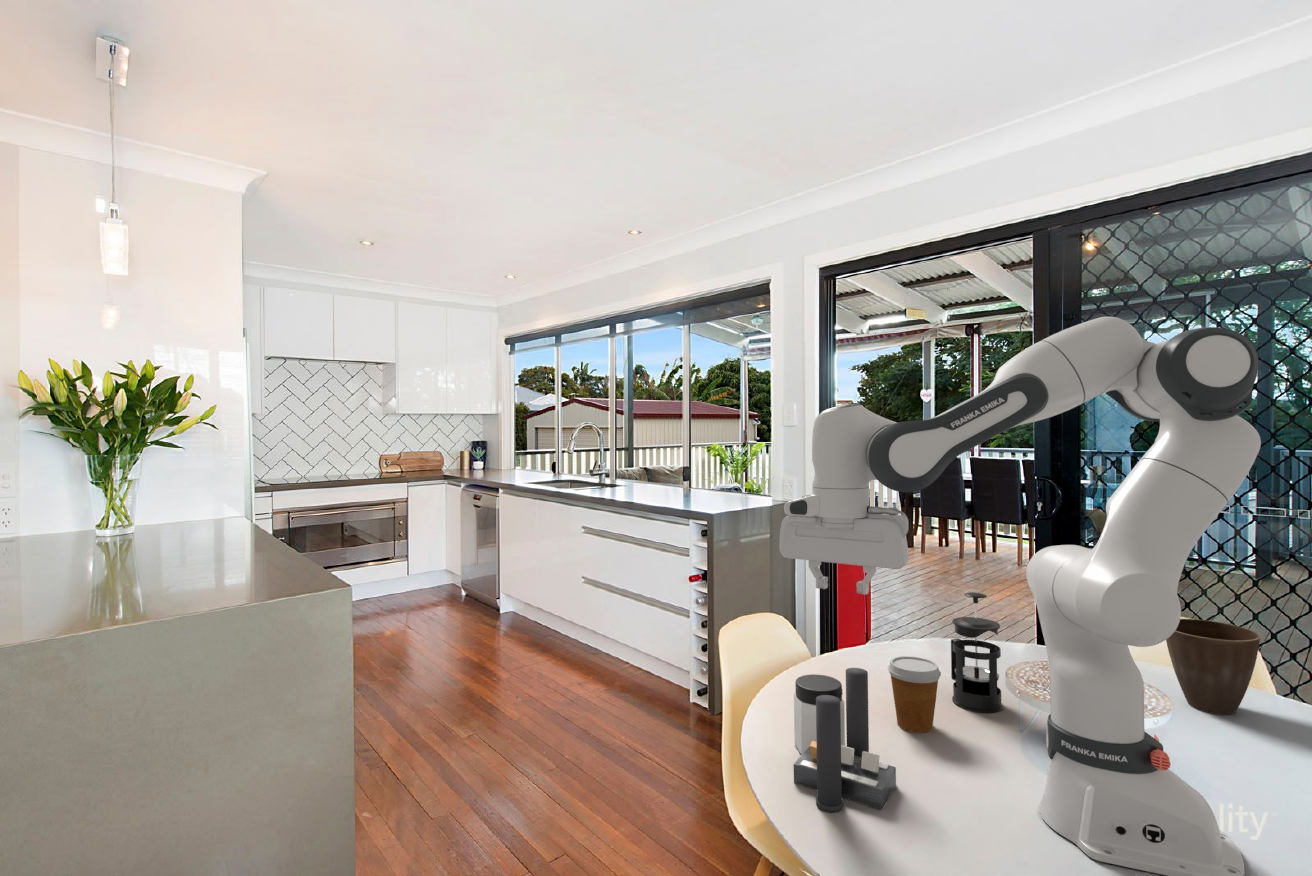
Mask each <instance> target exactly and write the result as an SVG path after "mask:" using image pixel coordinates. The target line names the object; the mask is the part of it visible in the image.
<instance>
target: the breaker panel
mask: <svg viewBox="0 0 1312 876" xmlns="http://www.w3.org/2000/svg"><path fill="white" fill-rule="evenodd" d="M861 761H862V757H859V756H855V755H854V760H853V765H848V764H845V763H841V780H842V799H846V800H848V801H851V802H855V803H858V804H861V805H865V806H866V807H867V806H868V807H871V808H874V809H877V810H880V811H883V809H884V808H885V806H886V804H887V802H888V801H889V799H890V797H891V796H892V793H893V792H894V790H895V789H896V787H897V770H896V769H897V767H895V766H893V765H890V764H888V763H884V762H880V761H879V771H878V772H873V771H870V770H866V769H863V768H861ZM793 783H794V784H797V785H800V786H804V787H807V788H810V789H813V790H817V759H815V758H812V756H811V751H810V747H809V748H808V749H807V750H806V751H805V752H804V753H803V754H802V755H801V754H800V756H799V757H798V759H797V760H796V761H795V762H794V763H793Z"/></svg>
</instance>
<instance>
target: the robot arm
mask: <svg viewBox="0 0 1312 876" xmlns="http://www.w3.org/2000/svg"><path fill="white" fill-rule="evenodd" d="M1258 371H1259V356H1258V353H1257V350H1256V347H1255V346H1254V345H1253V343H1252V342H1251V341H1250V340H1249V339H1248V338H1247V337H1246V336H1244V335H1243V334H1242V333H1240V332H1237V331H1235V330H1234V329H1233V330H1232V329H1230V328H1229V329H1228V328H1225V327H1218V326H1217V327H1216V326H1212V327H1211V326H1210V327H1209V326H1208V327H1207V326H1206V327H1198V328H1192V329H1188V330H1185V331H1182V332H1180V333H1177V334H1176V335H1174V336H1173V337H1171V338H1169V339H1168V338H1167V339H1165V340H1164V341H1161V342H1159V343H1155V342H1151V341H1148V340H1146V339H1144V338H1143V337H1141V335H1140V333H1139V332H1138V330H1137V329H1136V328H1135V327H1134V326H1133V325H1132V324H1131V323H1129V322H1128V321H1126V320H1124V319H1122V318H1120V317H1116V316H1100V317H1097V318H1094V319H1090V320H1087V321H1084V322H1081V323H1078V324H1076V325H1073V326H1071V327H1068V328H1065V329H1062V330H1060V331H1058V332H1056V333H1053V334H1051V335H1048V337H1046V338H1043V339H1041V340H1040V341H1038V342H1036V343H1034V344H1032V345H1030V346H1028V347H1026V348H1025V349H1024V350H1021V351H1020V352H1019V353H1017V354H1016V355H1014V356H1012V357H1011V358H1009V360H1007V361H1006V362H1004V364H1003V365H1001V366H1000V367H998V369H997V372H996V373H995V375H994V376H995V377H994V379H993V380H992V382H990V384H989V385H988V386H987V387H986V388H985V389H983V390H982V391H981V392H979V393H977V394H976V395H973V396H972V397H970V398H968V399H967V400H964V401H963V402H960V403H958V404H957V405H955V406H953V407H951V408H949V409H948V410H945V411H943V412H941V413H940V414H938V415H936V416H932V417H930V418H927V419H923V420H906V421H900V422H896V421H893V420H891V419H888V418H886V417H883V416H881V415H879V414H876V413H875V412H873V411H870V410H869V409H867V408H866V407H865V406H863V404H859V403H850V404H847V403H846V404H841V405H837V406H833V407H831V408H825V409H824V410H822V411H821V412H819V414H818V415H816V417H815V419H814V423H813V427H812V439H811V440H812V441H811V460H812V461H811V462H812V465H813V470H814V477H813V479H812V480H813V481H812V489H811V490H812V493H811V494H807V495H803V496H801V497H800V498H797V499H792V500H789V501H786V502H785V503H784V504H783V511H784V514H785V515H786V516H785V517H783V519H782V521H781V524H780V528H779V529H780V530H779V546H778V547H779V552H780V554H781V555H782V556H783V558H785V559H791V560H792V559H793V560H802V561H808V568H809V570H810V572H811V574H812V575H813V577H814V578H815V589H817V590H818V589H819V590H826V589H828V587H829V583H828V582H829V576H824V575H823V573H822V570H821V569H820V566H821V565H822V562H823V563H830V564H831V563H833V564H842V565H850V566H851V565H852V566H862V569H863V571H862V572H863V573H865V574H866V575H865V576H864V577H863V580H859V581H857V582H856V586H855V587H856V594H859V595H860V594H861V595H868V594H869V593H870V582H871V580H872V579H873V578H874V576H875V573H876V572H877V568H880V569H881V568H882V569H892V570H900V569H903V567H905V566H906V565H907V564H908V563H909V559H910V558H909V546H908V540H907V536H908V535H907V534H908V532H909V518H908V515H907V514H906V513H904V512H903V511H902V510H899V508H897V507H882V506H873V505H872V506H871V505H870V482H872V481H878V482H879V483H880V484H881V485H883V486H884V487H886V488H887V489H890V490H891V491H894V492H899V493H914V492H919V491H921V490H923V489H926V488H927V487H929V486H931V484H933V483H934V482H936V480H937V479H938V478H939V477H940V476H941V475H942V474H943V472H944V471H945V469H947V467H948V466H949V465H950V464H951V463H952V462H953V461H954V460H955V459H956V458H957V457H959V456H960V455H962V454H964V453H966V452H967V451H969V450H972V449H974V448H975V447H977V446H979V445H981V444H983V443H985V442H987V441H989V440H990V439H992V438H994V437H996V436H998V435H999V434H1002V433H1004V432H1006V431H1008V430H1010V429H1012V428H1015V427H1018V426H1022V425H1026V424H1031V423H1035V422H1038V421H1042V420H1045V419H1049V418H1052V417H1054V416H1057V415H1060V414H1062V413H1063V414H1064V413H1065V412H1068V411H1070V410H1072V409H1075V408H1076V407H1078V406H1080V405H1082V404H1084V403H1086V402H1088V401H1090V400H1092V399H1095V398H1096V397H1098V396H1100V395H1103V394H1106V395H1107V396H1108V397H1110V398H1111V399H1112V400H1113V401H1115V402H1116V403H1117V404H1118V405H1119V407H1121V409H1122V410H1124V411H1125V412H1126V413H1127V414H1129V415H1130V416H1132V417H1135V418H1136V419H1139V420H1142V421H1146V422H1148V421H1149V422H1159V430H1158V432H1157V433H1158V434H1157V436H1156V437H1155V440H1154V443H1153V444H1151V446H1150V447H1149V449H1148V450H1146V451H1145V453H1144V454H1143V455H1142V457H1141V458H1140V459H1139V461H1138V462H1137V463H1136V464H1135V465H1134V467H1132V469H1131V470H1130V471H1129V473H1128V474H1127V475H1126V477H1125V478H1124V480H1123V481H1121V483H1120V484H1119V485H1118V487H1117V488H1116V490H1115V491H1113V493H1112V494H1111V496H1110V497H1109V498H1108V500H1107V502H1106V503H1105V512H1106V520H1105V524H1104V526H1103V529H1102V531H1101V533H1100V537H1099V539H1098V540H1097V543H1096V544H1095V546H1094V547H1093V548H1088V547H1085V546H1082V545H1077V544H1060V545H1058V544H1057V545H1050V546H1046V547H1043V548H1042V549H1039V550H1038V551H1037V552H1036V553H1034V554H1033V556H1031V558H1030V559H1029V562H1028V564H1027V565H1026V570H1025V572H1026V573H1025V575H1026V582H1027V585H1028V587H1029V589H1030V591H1031V593H1032V595H1033V597H1034V601H1035V603H1036V608H1037V613H1038V618H1039V623H1040V628H1041V632H1042V635H1043V640H1044V645H1045V650H1046V654H1047V659H1048V669H1049V694H1050V695H1049V697H1050V698H1049V700H1050V713H1049V714H1048V716H1047V723H1046V727H1045V728H1046V729H1045V730H1046V751H1047V755H1048V757H1049V760H1048V761H1049V763H1048V769H1047V778H1046V783H1045V788H1044V792H1043V795H1042V798H1041V802H1040V804H1039V807H1038V811H1039V815H1040V817H1041V818H1042V820H1043V821H1044V822H1045V823H1046V824H1047V825H1048V826H1049V827H1050V828H1051V829H1052V830H1053V831H1055V832H1056V833H1058V834H1059V835H1061V836H1062V837H1064V838H1066V839H1067V840H1069V841H1071V842H1072V843H1074V844H1075V845H1076V846H1077V847H1078V848H1079V849H1080V850H1081V851H1082V852H1083V853H1084V854H1086V856H1088V857H1089V858H1091V859H1092V860H1095V861H1097V862H1102V863H1107V864H1112V865H1116V866H1120V867H1124V868H1125V867H1126V868H1130V869H1135V870H1139V871H1144V872H1149V873H1155V874H1159V875H1164V876H1246V869H1245V863H1244V859H1243V856H1242V854H1241V851H1240V850H1239V848H1238V846H1237V844H1236V843H1235V842H1234V840H1233V839H1231V837H1230V836H1228V835H1227V834H1226V833H1225V832H1224V831H1222V830H1221V829H1219V828H1220V827H1219V824H1218V821H1217V818H1216V816H1215V813H1214V812H1213V810H1212V808H1211V806H1210V804H1209V803H1208V801H1207V800H1206V798H1205V797H1204V795H1202V794H1201V793H1200V792H1199V791H1198V790H1197V789H1195V788H1194V787H1193V786H1191V785H1190V784H1188V782H1187V781H1184V779H1182V778H1181V777H1180V776H1178V775H1177V774H1176V773H1175V772H1173V771H1172V770H1171V769H1170V768H1171V761H1170V757H1169V754H1167V752H1165V750H1164V746H1163V744H1162V743H1161V742H1160V740H1159V737H1157V735H1156V734H1153V736H1152V735H1150V734H1149V733H1148V732H1146V731H1145V695H1144V694H1145V693H1144V692H1145V687H1144V686H1145V685H1144V679H1143V676H1142V673H1141V671H1140V669H1139V668H1138V666H1137V664H1136V662H1135V660H1134V658H1133V656H1132V654H1131V651H1130V649H1129V646H1132V647H1138V648H1146V647H1153V646H1156V645H1159V644H1161V643H1163V642H1165V641H1166V639H1168V638H1169V637H1170V636H1171V635H1172V634H1173V633H1174V631H1175V630H1176V628H1177V627H1178V624H1179V622H1180V619H1182V618H1181V617H1182V606H1181V602H1180V599H1179V596H1178V588H1179V583H1180V580H1181V575H1182V572H1183V570H1184V567H1185V564H1186V562H1187V560H1188V557H1189V555H1190V553H1191V552H1192V550H1193V548H1194V547H1195V545H1196V544H1197V542H1198V541H1199V540H1200V538H1201V537H1202V535H1203V534H1205V532H1206V531H1207V529H1208V528H1209V527H1210V526H1211V525H1212V523H1213V522H1214V520H1215V519H1216V518H1217V516H1218V515H1219V514H1220V513H1221V512H1222V510H1223V509H1224V508H1225V507H1226V505H1227V504H1228V503H1229V502H1230V500H1231V499H1232V497H1233V496H1234V495H1235V494H1236V492H1237V491H1238V489H1239V488H1240V487H1241V485H1242V484H1243V482H1244V480H1245V479H1246V478H1247V475H1248V474H1249V473H1250V470H1251V469H1252V467H1253V465H1254V463H1255V461H1256V459H1257V456H1258V455H1259V452H1260V450H1261V445H1262V441H1261V436H1260V434H1259V432H1258V431H1257V429H1256V428H1255V427H1254V426H1253V424H1251V423H1250V422H1248V420H1245V419H1244V418H1243V417H1241V416H1239V414H1241V413H1243V412H1244V411H1246V410H1247V409H1248V408H1249V407H1250V406H1251V404H1252V400H1253V387H1254V384H1255V382H1256V379H1257V377H1258ZM1242 404H1244V405H1243V406H1242ZM1241 406H1242V407H1241ZM1239 407H1240V408H1239Z"/></svg>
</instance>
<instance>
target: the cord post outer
mask: <svg viewBox="0 0 1312 876" xmlns="http://www.w3.org/2000/svg"><path fill="white" fill-rule="evenodd" d="M816 742H817V791H816V796H815V804H816V807H817V809H819V810H821V811H822V812H826V813H829V814H830V813H832V814H833V813H834V814H835V813H839V812H841V811H842V810H843V809H844V798H842V780H841V711H840V699H839V698H837V697H835V696H831V695H820V696H818V697H816Z"/></svg>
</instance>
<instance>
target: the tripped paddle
mask: <svg viewBox="0 0 1312 876" xmlns="http://www.w3.org/2000/svg"><path fill="white" fill-rule="evenodd" d="M810 751H811V756H812V758H815V759H817V742H816V741H812V742H811V744H810Z"/></svg>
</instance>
